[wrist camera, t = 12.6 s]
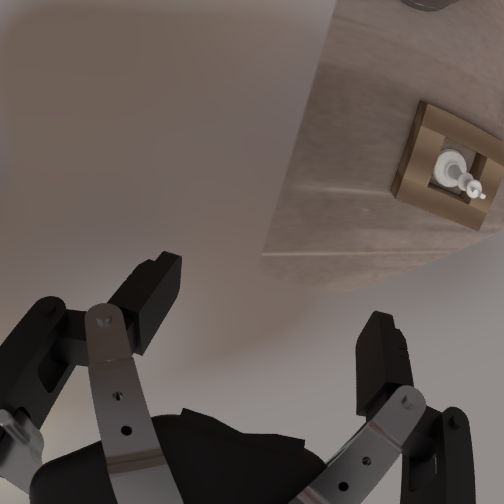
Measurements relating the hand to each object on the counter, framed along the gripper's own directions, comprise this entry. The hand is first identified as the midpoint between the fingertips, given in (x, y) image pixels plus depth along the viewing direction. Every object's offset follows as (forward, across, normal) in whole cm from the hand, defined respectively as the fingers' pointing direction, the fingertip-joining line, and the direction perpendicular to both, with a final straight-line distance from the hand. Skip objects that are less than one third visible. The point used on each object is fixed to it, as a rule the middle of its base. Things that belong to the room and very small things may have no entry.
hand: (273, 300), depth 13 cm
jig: (+28, -18, -4) cm, 34 cm away
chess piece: (+28, -18, -4) cm, 34 cm away
